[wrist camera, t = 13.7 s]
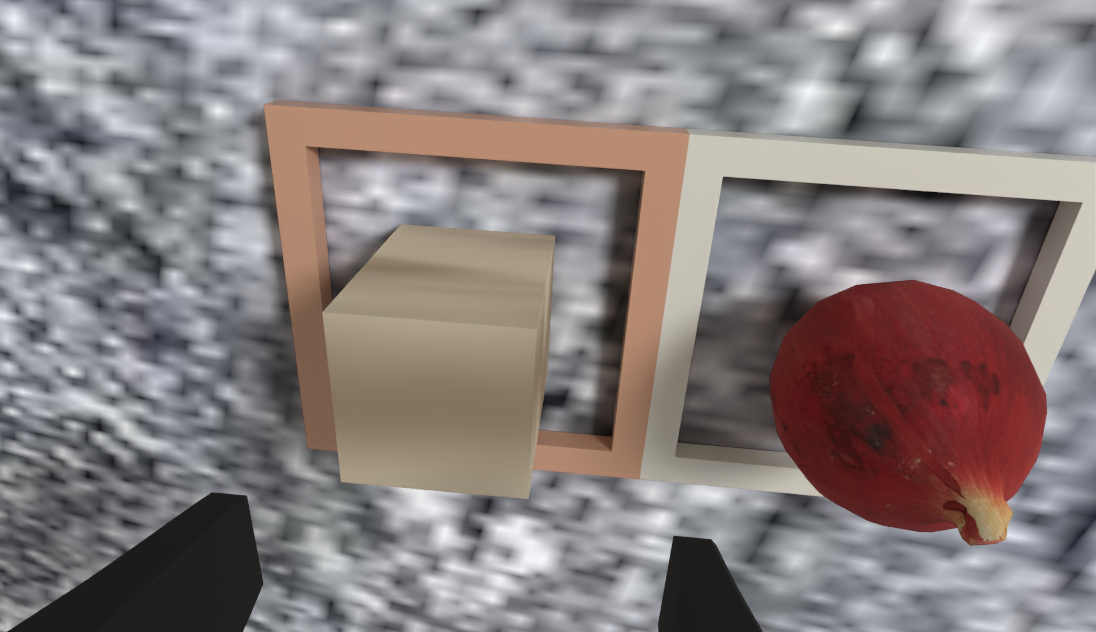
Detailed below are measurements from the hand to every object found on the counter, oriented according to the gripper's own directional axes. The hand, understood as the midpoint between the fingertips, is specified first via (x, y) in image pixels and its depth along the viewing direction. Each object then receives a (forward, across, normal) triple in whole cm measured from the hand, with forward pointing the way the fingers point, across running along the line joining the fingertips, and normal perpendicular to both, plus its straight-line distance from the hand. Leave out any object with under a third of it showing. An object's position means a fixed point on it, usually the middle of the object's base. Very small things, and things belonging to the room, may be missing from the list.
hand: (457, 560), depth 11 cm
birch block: (+10, +1, 0) cm, 10 cm away
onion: (+10, -10, 0) cm, 14 cm away
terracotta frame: (+10, +1, 0) cm, 10 cm away
